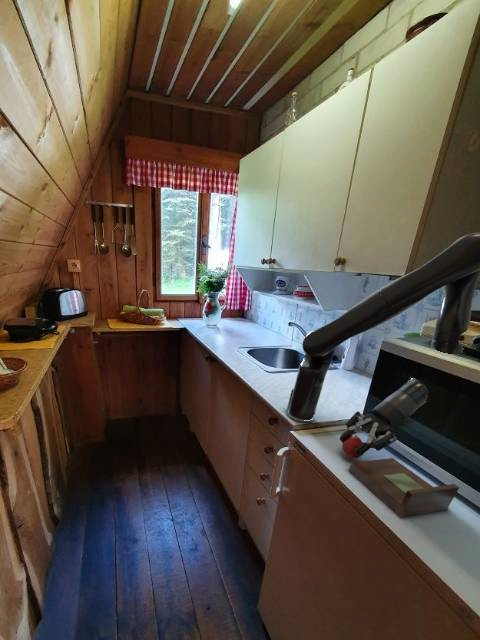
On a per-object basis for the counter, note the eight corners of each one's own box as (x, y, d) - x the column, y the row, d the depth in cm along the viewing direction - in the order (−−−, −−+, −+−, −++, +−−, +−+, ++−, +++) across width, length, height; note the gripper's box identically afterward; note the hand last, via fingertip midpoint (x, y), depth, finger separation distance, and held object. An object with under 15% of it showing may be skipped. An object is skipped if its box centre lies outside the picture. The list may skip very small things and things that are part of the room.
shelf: (348, 470, 86) (355, 450, 83) (389, 466, 90) (398, 446, 88) (400, 517, 71) (412, 494, 68) (447, 509, 75) (459, 487, 73)
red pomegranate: (355, 453, 94) (364, 431, 91) (363, 465, 89) (372, 442, 86) (336, 451, 95) (344, 429, 92) (343, 462, 89) (351, 439, 86)
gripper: (370, 391, 93) (327, 426, 94) (413, 413, 81) (362, 454, 82) (378, 406, 97) (336, 440, 98) (420, 430, 84) (371, 469, 85)
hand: (348, 446), depth 90 cm, fingers closed on red pomegranate, 5 cm apart
